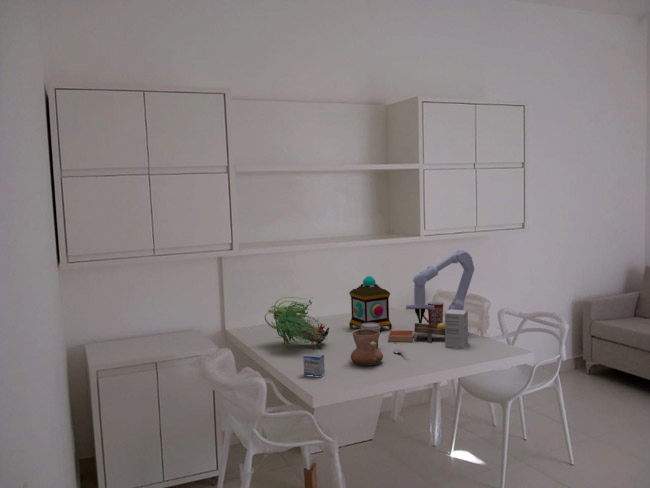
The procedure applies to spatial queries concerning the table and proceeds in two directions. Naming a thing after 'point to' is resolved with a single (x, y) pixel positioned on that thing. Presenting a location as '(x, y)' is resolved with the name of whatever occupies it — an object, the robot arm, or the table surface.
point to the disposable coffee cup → (371, 327)
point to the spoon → (401, 353)
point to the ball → (441, 326)
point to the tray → (400, 336)
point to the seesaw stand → (429, 337)
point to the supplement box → (456, 328)
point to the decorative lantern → (370, 304)
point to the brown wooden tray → (428, 329)
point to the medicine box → (313, 364)
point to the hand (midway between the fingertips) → (420, 322)
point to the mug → (435, 313)
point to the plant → (296, 323)
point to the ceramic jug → (366, 347)
